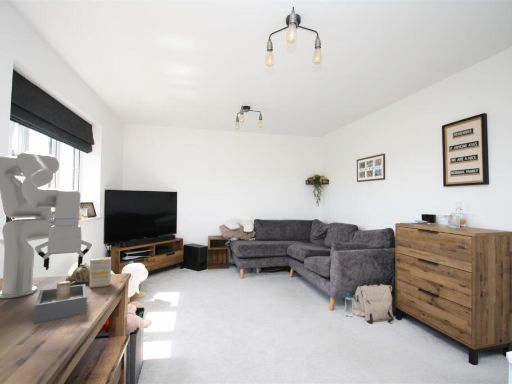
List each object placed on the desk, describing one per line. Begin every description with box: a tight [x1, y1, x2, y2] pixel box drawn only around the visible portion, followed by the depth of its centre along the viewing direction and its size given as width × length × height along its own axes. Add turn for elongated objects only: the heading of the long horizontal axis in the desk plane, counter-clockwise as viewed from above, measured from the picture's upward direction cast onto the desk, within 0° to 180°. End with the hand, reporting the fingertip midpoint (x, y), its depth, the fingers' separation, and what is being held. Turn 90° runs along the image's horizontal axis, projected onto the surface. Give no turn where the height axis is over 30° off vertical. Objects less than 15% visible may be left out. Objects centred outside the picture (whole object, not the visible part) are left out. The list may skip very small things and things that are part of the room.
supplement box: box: [88, 256, 112, 289], centre depth 122 cm, size 8×5×13 cm, turn 110°
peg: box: [56, 280, 71, 301], centre depth 96 cm, size 4×4×10 cm
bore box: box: [33, 283, 88, 324], centre depth 96 cm, size 16×14×6 cm
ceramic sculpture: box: [65, 263, 90, 284], centre depth 127 cm, size 11×9×15 cm
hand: (63, 267), depth 97 cm, fingers open, 9 cm apart
